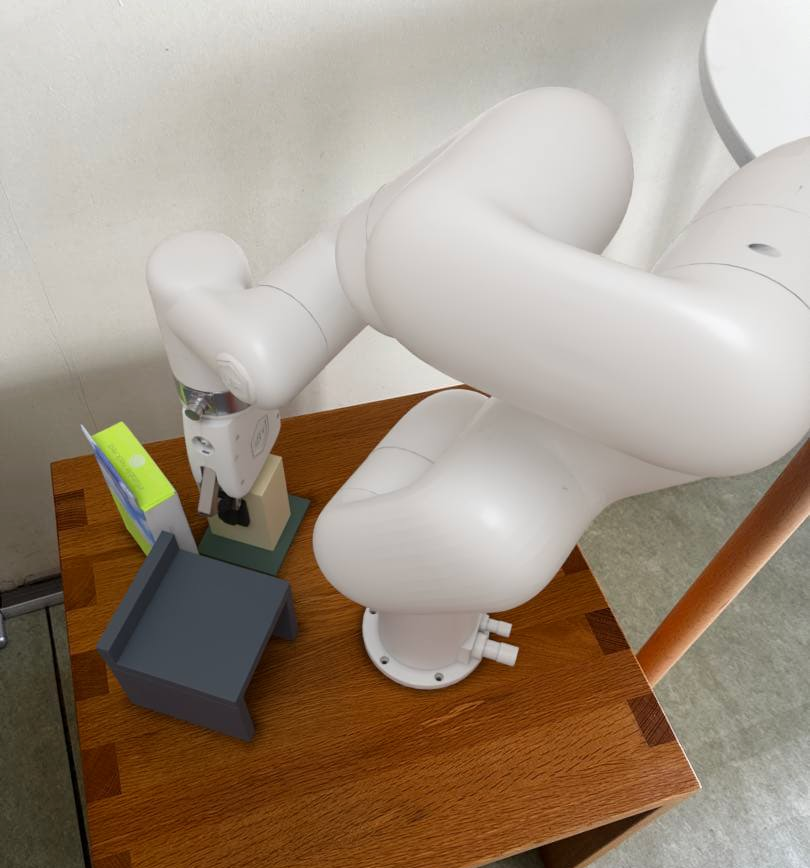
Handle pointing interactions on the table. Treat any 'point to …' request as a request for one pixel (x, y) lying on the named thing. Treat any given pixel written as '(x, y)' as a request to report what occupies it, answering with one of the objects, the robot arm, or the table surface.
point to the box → (140, 489)
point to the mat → (251, 554)
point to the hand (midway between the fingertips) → (246, 498)
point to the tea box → (260, 509)
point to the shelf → (195, 636)
